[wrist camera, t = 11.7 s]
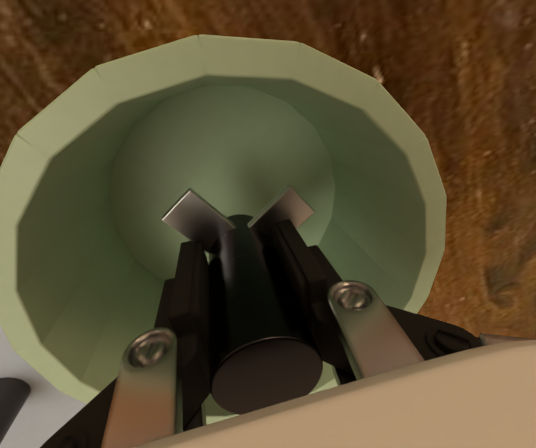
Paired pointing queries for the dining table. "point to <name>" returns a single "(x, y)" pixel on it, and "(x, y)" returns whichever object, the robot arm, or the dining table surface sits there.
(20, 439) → the lid
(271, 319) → the blade
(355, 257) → the processor bowl
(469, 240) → the dining table surface
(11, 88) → the dining table surface
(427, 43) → the dining table surface
